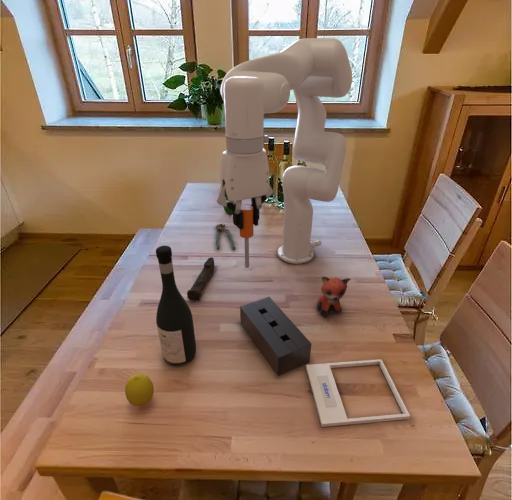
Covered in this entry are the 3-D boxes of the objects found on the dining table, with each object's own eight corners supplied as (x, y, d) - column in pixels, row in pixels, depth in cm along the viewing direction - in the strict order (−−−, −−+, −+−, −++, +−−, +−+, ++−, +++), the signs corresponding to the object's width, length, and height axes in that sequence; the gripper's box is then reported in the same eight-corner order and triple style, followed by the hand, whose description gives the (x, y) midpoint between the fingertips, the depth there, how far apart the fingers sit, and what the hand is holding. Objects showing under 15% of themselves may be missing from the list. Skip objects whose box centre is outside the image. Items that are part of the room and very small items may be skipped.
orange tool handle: (249, 262, 89) (249, 203, 81) (255, 268, 86) (255, 208, 78) (238, 265, 88) (236, 206, 79) (244, 271, 85) (242, 211, 77)
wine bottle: (181, 372, 81) (163, 264, 66) (156, 358, 85) (133, 252, 69) (203, 350, 87) (191, 245, 71) (179, 337, 91) (163, 235, 75)
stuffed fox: (338, 294, 106) (343, 260, 99) (347, 319, 96) (353, 284, 90) (312, 294, 106) (316, 260, 99) (319, 320, 96) (324, 284, 90)
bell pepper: (241, 216, 151) (241, 194, 146) (222, 216, 151) (221, 194, 146) (242, 208, 158) (241, 187, 153) (224, 208, 158) (222, 187, 153)
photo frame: (306, 364, 82) (381, 358, 83) (305, 367, 82) (380, 361, 84) (322, 423, 69) (410, 415, 71) (321, 426, 70) (409, 418, 71)
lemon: (132, 392, 77) (125, 367, 73) (158, 390, 77) (152, 365, 73) (126, 415, 72) (118, 390, 68) (154, 413, 72) (147, 387, 68)
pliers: (235, 250, 127) (235, 247, 127) (217, 251, 127) (216, 248, 126) (230, 225, 144) (230, 222, 143) (214, 226, 143) (214, 223, 142)
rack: (268, 313, 98) (269, 296, 95) (309, 361, 84) (311, 343, 81) (240, 323, 95) (239, 306, 92) (277, 376, 80) (278, 357, 77)
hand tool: (200, 303, 102) (198, 290, 100) (187, 300, 103) (185, 288, 101) (221, 267, 118) (221, 255, 116) (210, 265, 119) (209, 254, 116)
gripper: (270, 135, 78) (269, 211, 87) (199, 145, 71) (206, 226, 81) (289, 143, 72) (285, 224, 82) (214, 154, 65) (219, 240, 75)
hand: (246, 224), depth 81 cm, fingers closed on orange tool handle, 3 cm apart
